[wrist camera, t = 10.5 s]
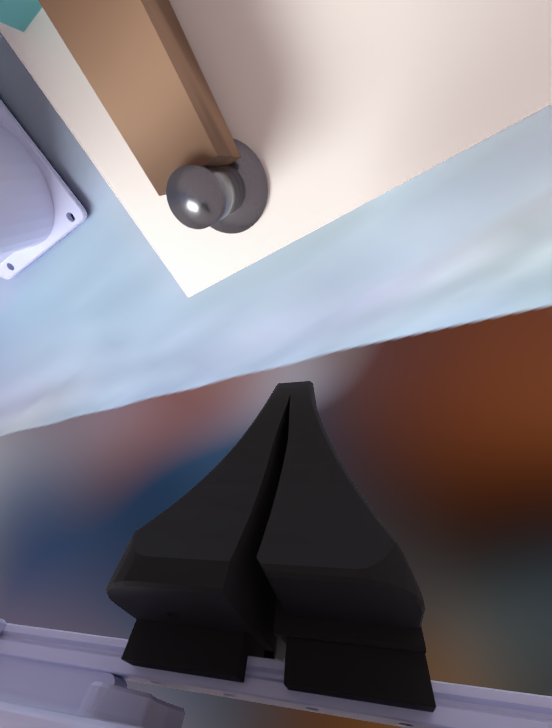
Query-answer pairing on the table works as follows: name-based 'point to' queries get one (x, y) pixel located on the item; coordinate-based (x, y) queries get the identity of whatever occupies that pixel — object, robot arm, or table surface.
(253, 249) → the board
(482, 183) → the table surface
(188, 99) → the folding leg
